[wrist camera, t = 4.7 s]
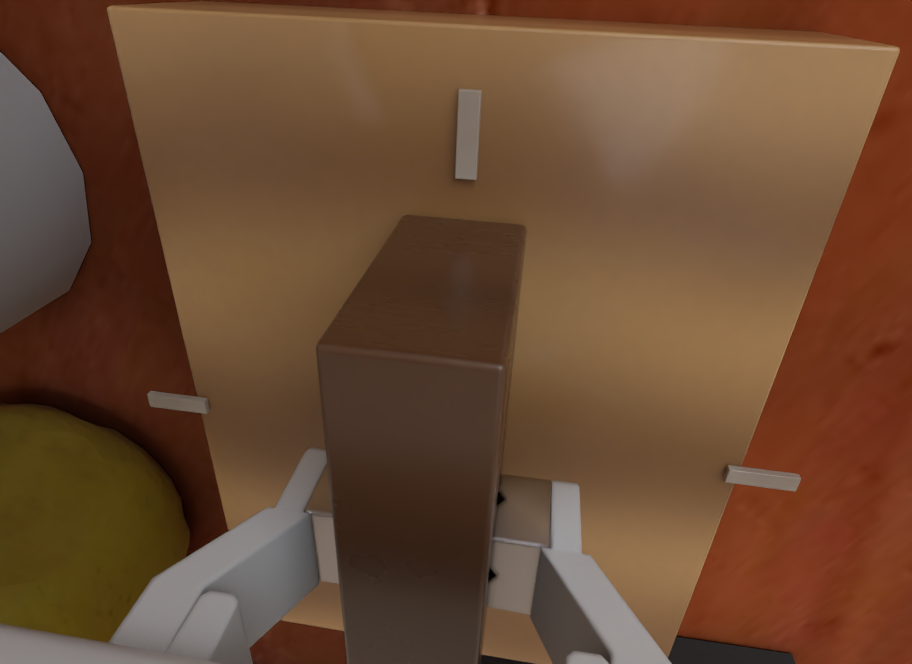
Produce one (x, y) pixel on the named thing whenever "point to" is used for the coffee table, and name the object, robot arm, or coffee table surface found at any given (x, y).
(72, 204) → the cup
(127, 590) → the mug
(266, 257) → the base
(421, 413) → the brown block
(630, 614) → the robot arm
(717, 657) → the vhs tape
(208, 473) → the coffee table surface
